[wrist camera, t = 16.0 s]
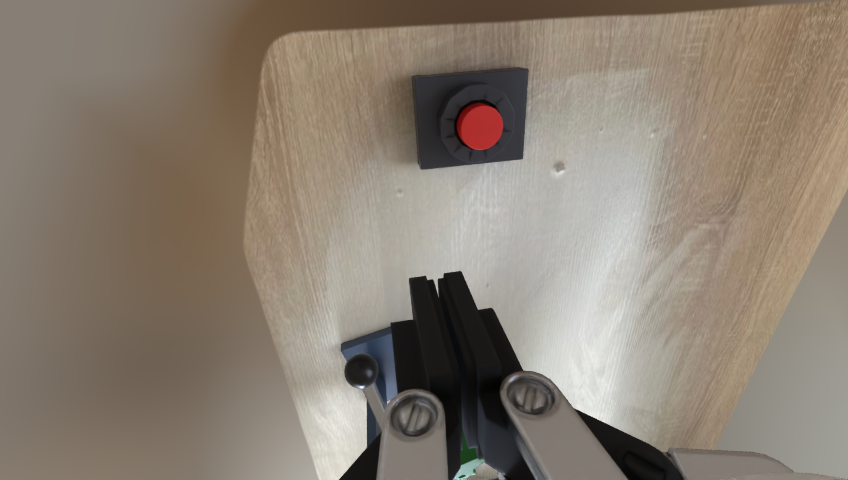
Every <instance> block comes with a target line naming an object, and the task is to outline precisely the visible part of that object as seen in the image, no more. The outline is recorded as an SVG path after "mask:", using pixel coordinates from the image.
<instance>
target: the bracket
mask: <svg viewBox="0 0 848 480" xmlns="http://www.w3.org/2000/svg"><path fill="white" fill-rule="evenodd" d="M341 352H342V354H343V355H344V357H345V359H346V360H347V361H348V360H349V359H350V358H351V357H352V356H353V355H355V354H358V353H367V354H369V355H371V356H372V357H374V359H375V360H376V362H377V364H378V370H379V371H378V376H377V378H376V380H375V381H374V382H375V384H376V386H377V388H378V390H379V393H380V395H381V397H382V399H383V402H384V404H385V406H387V401H390V400H391V399H392V398H394V397H395V396H396V395H397V394H398V393H397V383H396V373H395V363H394V353H393V343H392V332H391V327H389V328H386V329H384V330H381V331H378V332H375V333H372V334H369V335H366V336H363V337H360V338H357V339H355V340H352V341H349V342H346V343H343V344H341ZM381 431H382V430H381V428H380V426H379V424H378V422H377V420H376V418H375V415H374V413H373V411H372V409H371V407H370V405H369V403H368V400H367V447H368V446H369V445H370V444H371V443H372V442H373V440H374V439H375V438H376V437H377V436H378V435H379V434H380V432H381Z"/></svg>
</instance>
